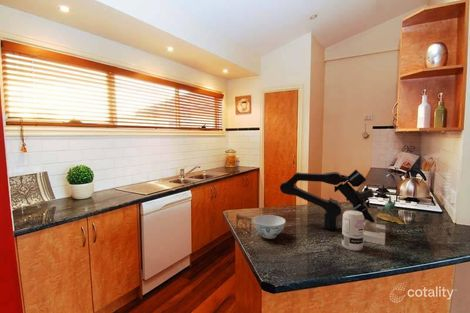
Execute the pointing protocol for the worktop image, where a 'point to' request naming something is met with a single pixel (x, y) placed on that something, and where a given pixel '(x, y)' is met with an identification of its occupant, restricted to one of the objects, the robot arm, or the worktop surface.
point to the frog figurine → (389, 207)
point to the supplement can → (353, 230)
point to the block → (369, 225)
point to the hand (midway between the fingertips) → (374, 219)
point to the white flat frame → (375, 235)
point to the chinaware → (269, 225)
